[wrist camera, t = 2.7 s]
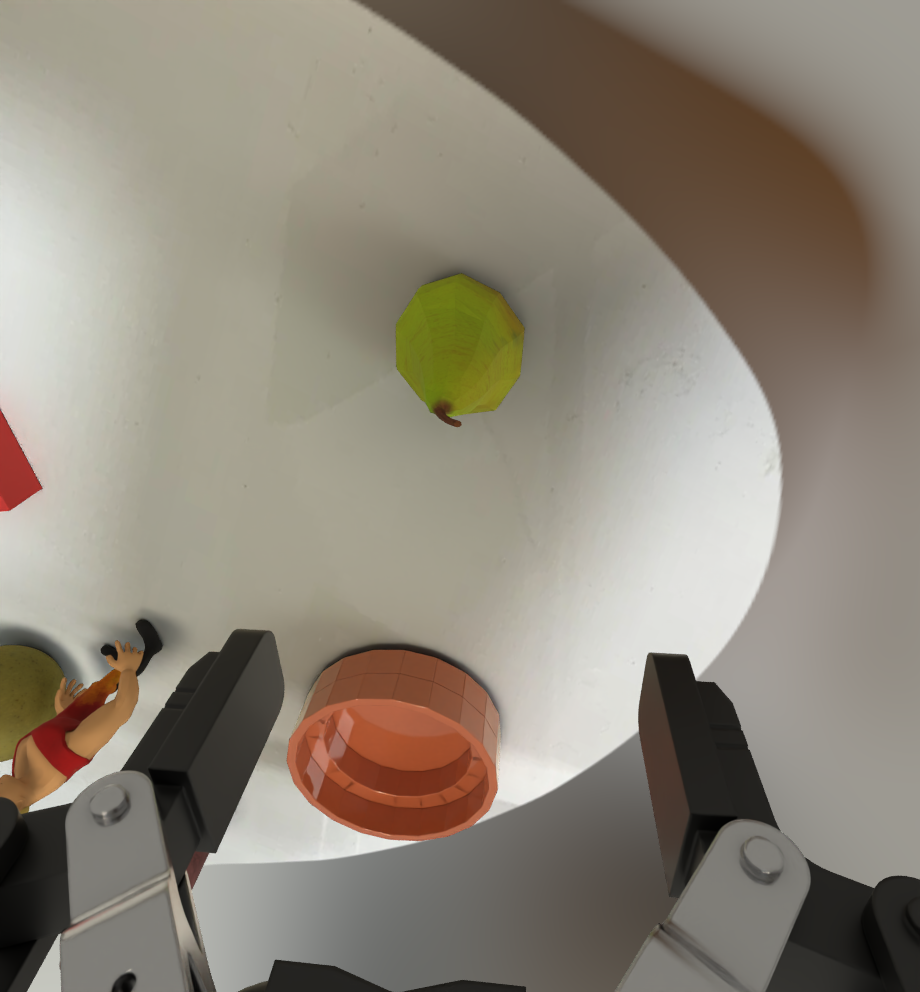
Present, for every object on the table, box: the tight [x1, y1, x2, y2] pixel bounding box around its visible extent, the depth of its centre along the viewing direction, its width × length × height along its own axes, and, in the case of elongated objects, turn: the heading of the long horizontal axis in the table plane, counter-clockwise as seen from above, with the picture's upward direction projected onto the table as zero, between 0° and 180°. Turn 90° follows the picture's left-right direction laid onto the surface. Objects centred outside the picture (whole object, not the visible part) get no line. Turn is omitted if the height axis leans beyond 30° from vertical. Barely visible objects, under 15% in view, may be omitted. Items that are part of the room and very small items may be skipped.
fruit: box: [396, 273, 525, 427], centre depth 27 cm, size 6×6×12 cm
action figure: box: [0, 620, 163, 814], centre depth 39 cm, size 10×4×15 cm, turn 128°
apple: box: [0, 645, 66, 762], centre depth 44 cm, size 8×8×7 cm
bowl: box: [287, 650, 501, 841], centre depth 44 cm, size 14×14×5 cm
